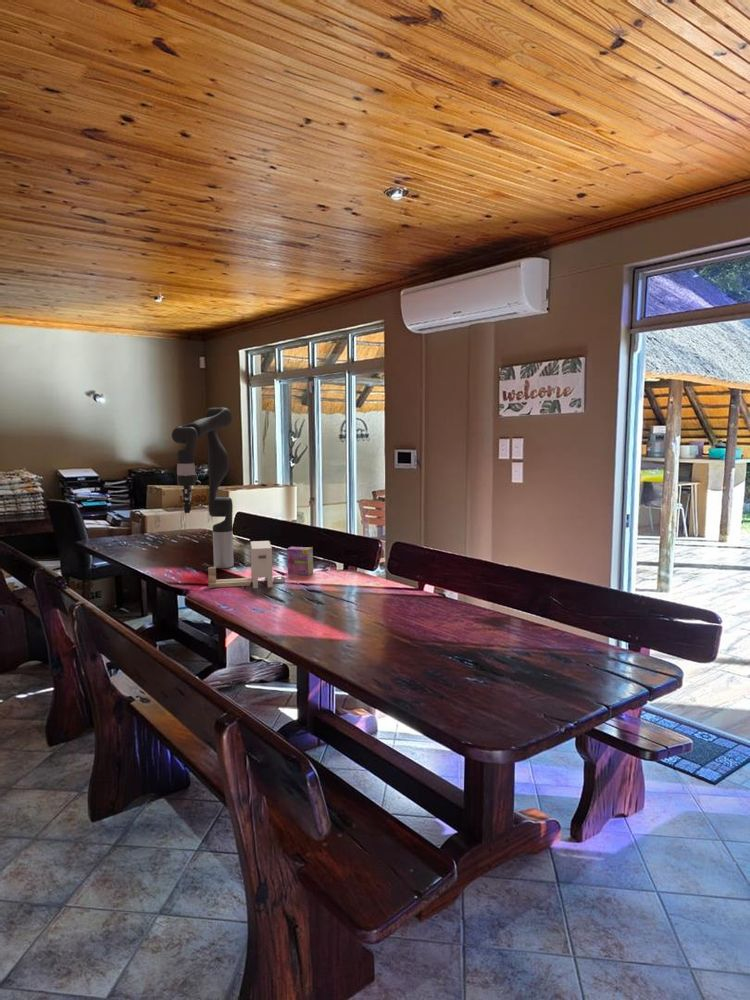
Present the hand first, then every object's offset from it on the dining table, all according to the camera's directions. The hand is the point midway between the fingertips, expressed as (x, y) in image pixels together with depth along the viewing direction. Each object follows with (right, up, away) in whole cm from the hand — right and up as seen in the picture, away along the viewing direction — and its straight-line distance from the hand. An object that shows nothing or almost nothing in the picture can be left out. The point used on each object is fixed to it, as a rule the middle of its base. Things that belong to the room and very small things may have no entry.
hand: (187, 511), depth 274 cm
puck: (+39, -30, 0) cm, 50 cm away
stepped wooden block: (+19, -31, -4) cm, 37 cm away
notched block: (+32, -30, -2) cm, 44 cm away
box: (+46, -29, +16) cm, 57 cm away
